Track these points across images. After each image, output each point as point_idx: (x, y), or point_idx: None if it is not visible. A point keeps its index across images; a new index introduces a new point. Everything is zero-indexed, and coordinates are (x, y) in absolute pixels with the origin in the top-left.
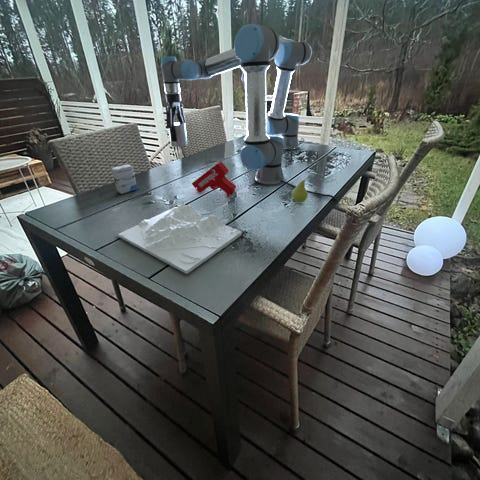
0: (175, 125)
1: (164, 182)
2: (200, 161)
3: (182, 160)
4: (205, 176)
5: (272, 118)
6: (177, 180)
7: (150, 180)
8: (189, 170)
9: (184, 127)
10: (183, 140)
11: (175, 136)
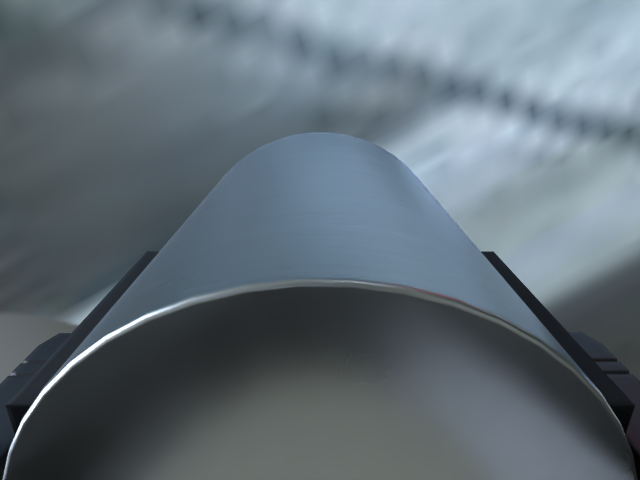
0: (631, 466)
1: (606, 168)
2: (20, 142)
3: (79, 302)
4: None
5: None
6: (551, 90)
7: (575, 283)
8: (291, 116)
9: (325, 226)
10: (390, 163)
11: (525, 293)
